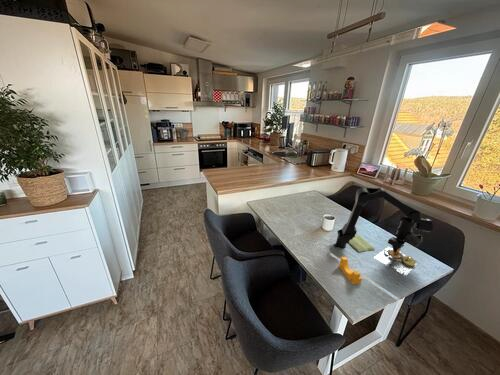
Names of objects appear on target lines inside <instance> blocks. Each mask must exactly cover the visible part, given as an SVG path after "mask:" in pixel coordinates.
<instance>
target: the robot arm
mask: <svg viewBox="0 0 500 375" xmlns="http://www.w3.org/2000/svg"><path fill="white" fill-rule="evenodd" d="M377 199H383V200H384V201H386V202H388V203H389V204H391V205H392V206H394V207H395V208H397V209H399V210H400V211H401V212H402V214H401V215H398V216H397V218H398V220H399V221H400V222H399V226H397V227H396V233H394V237H393V236H391V237H390V238H389V239H388V240H387V244H389V245H391V248H393V251H394V252H397V250H398V249H400V248H401V249H402V248H403V247H405V244H406V243H410V244H411V245H412V246H413V247H414V248H418V246H420V245H421V244H422V243H423V240H424V239H423V235H422V234H415V233H414V230H413V229H415V231H416V230H417V231H419V232H426V233H432V231H433V230H434V225H433V222H434V221H433V220H432V218H422V217H421V211H420V210H419V209H418V208H417V207H416V206H415V205H413V204H411V203H408V202H405V201H402V200H401V199H399V198H398V197H396V196H395V195H393V194H391V193H390V192H389V191H387V190H385V189H384V188H383V187H360V188H357V190H356V192H355V200H354V201H355V203H354V205H353V208H352V209H351V212H350V214H349V217H348V220H347V222H346V223H345V224H343V226H342V228H340V229H339V230H337V238H336V242H335V243H334V244H332V246H333V247H335V248H336V249H338V248H339V249H345V248H346V247H347V244H349V243H348V242H349V241H350V240H352V239H353V237H354V238H355V234H358V233H357V228H356V224H357V222H358V220H359V217H360V215H361V214H362V211H363V208H364V206H366V204H368V202H369V201H373V200H377ZM404 215H405V216H404Z"/></svg>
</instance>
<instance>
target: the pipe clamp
mask: <svg viewBox="0 0 500 375" xmlns="http://www.w3.org/2000/svg"><path fill="white" fill-rule="evenodd" d="M348 261H349V260H348V258H347V257H346V256H341V257H340V261H339V265H338V267H339V268H340V270H341V271H342V272H343V273H344V275H345V276H346V277H347V279H348V280H349V281H350V284H352V285H357V284H361V283H362V280H363V277H361V273H360V272H359V271H357V270H356V271H354V269H350V266H349V264H348Z"/></svg>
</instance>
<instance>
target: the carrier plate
mask: <svg viewBox="0 0 500 375" xmlns="http://www.w3.org/2000/svg"><path fill="white" fill-rule="evenodd" d="M390 250H393V247H392V246H391V247H390V246H387V247H385V248H384V249H383V250H381V251H380V252H379V253H377V255H375V256H374V257H373V258H374V259H376V260H377V261H378V262H381V263H382V264H384V265H385V266H387V267H389V268H390V269H392V270H394V271H395V272H397V273H398V274H401V275H403V276H404V277H407V276H408V275H409V274H410V272H412V270H414V268H415V267H417V265H418V264H419V263H420V262H419V261H418V260H416V259H414V258H413V257H412V256H410V255H406V254H404V253H403V252H402V251H400V252H399V253H401V255H402V257H401V259H394V258H393V257H392V256H390V255H389V251H390Z"/></svg>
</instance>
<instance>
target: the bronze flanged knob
mask: <svg viewBox="0 0 500 375" xmlns="http://www.w3.org/2000/svg"><path fill="white" fill-rule="evenodd" d="M401 249H402V248H400V249H398V250H397V252H394V251H393V250H390V251H389V255H390V256H392V257H393V258H394V259H401V257H402V255H401V253H402V252H401ZM399 252H401V253H399Z"/></svg>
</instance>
